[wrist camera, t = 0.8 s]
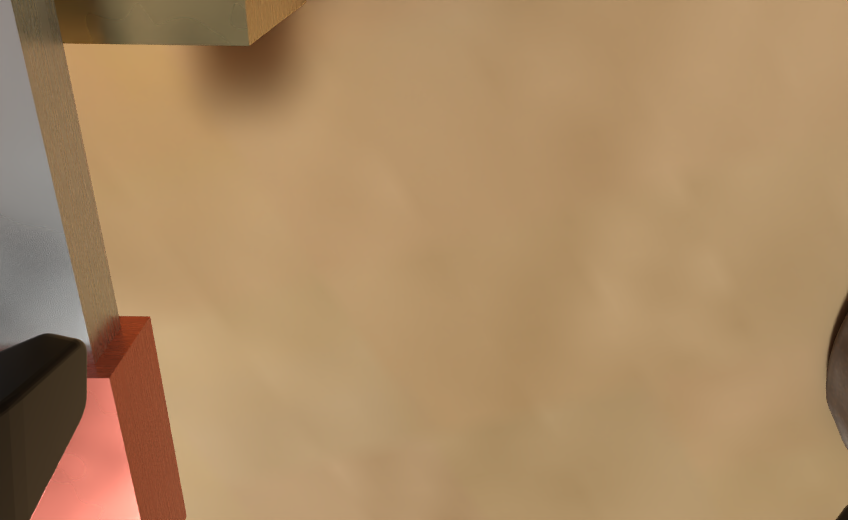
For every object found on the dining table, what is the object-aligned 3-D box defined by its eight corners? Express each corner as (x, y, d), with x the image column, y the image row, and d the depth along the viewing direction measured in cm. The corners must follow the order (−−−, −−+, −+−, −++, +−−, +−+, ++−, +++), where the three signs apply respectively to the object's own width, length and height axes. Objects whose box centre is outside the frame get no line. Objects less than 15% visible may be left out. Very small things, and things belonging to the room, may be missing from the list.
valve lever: (-184, -322, 9) (-333, -384, 7) (65, -317, 9) (-21, -374, 7) (60, 517, 15) (14, 594, 14) (204, 516, 16) (177, 593, 14)
